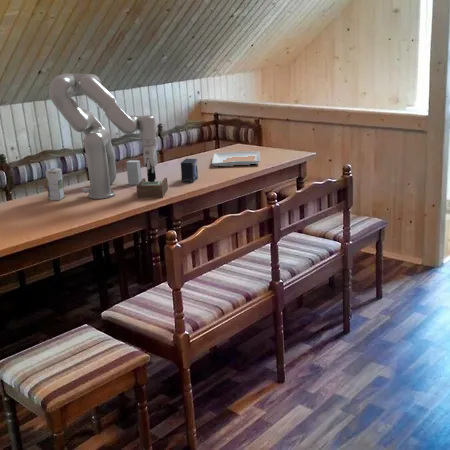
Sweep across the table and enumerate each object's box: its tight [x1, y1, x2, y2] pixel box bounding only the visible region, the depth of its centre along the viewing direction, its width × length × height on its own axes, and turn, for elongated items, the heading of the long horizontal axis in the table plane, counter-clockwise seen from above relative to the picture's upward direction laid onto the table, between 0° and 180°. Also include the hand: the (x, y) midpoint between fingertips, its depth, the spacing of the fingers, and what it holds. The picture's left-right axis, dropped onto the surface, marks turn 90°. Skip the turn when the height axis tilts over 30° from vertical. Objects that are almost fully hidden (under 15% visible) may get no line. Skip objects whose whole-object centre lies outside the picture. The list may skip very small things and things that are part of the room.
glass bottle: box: [105, 132, 117, 185], centre depth 321 cm, size 10×10×28 cm
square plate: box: [211, 150, 261, 167], centre depth 361 cm, size 27×27×4 cm
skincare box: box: [125, 159, 143, 186], centre depth 321 cm, size 6×4×12 cm
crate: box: [141, 169, 162, 186], centre depth 297 cm, size 8×8×11 cm
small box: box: [180, 158, 199, 184], centre depth 323 cm, size 11×6×10 cm, turn 168°
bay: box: [135, 177, 169, 199], centre depth 301 cm, size 16×12×6 cm
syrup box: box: [45, 167, 65, 201], centre depth 299 cm, size 6×6×14 cm
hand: (151, 180), depth 300 cm, fingers closed on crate, 2 cm apart
